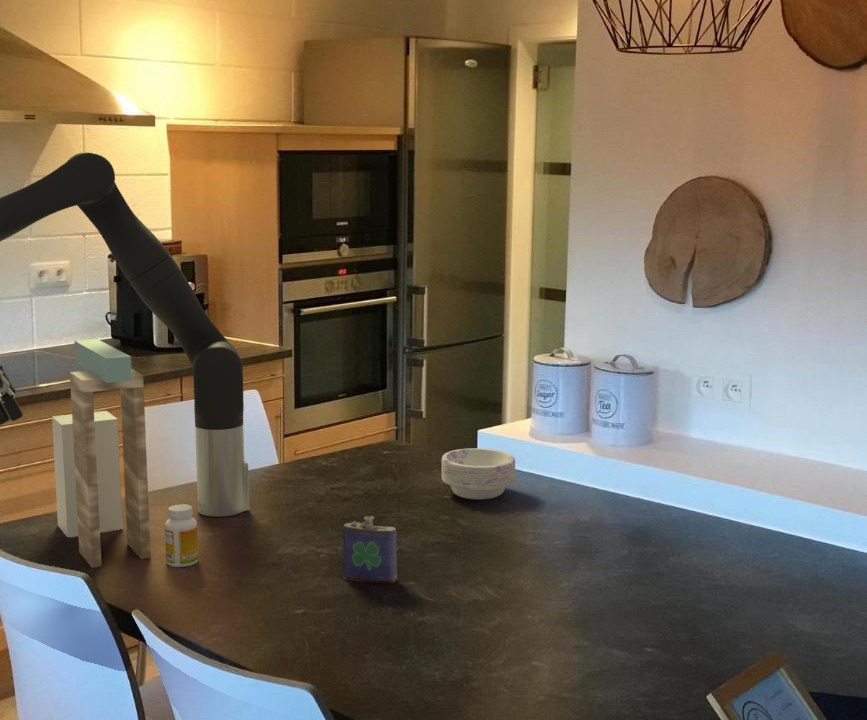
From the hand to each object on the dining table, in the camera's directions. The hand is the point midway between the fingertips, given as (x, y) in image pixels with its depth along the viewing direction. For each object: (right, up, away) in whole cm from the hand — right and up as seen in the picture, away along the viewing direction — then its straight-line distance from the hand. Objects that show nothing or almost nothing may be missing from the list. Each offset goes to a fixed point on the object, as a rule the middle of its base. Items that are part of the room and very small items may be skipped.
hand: (11, 420), depth 200 cm
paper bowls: (+84, -17, +34) cm, 92 cm away
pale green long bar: (+18, +9, -7) cm, 21 cm away
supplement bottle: (+32, -24, -7) cm, 41 cm away
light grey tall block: (+11, -21, +11) cm, 26 cm away
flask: (+64, -25, -15) cm, 71 cm away
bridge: (+19, -23, -4) cm, 30 cm away
